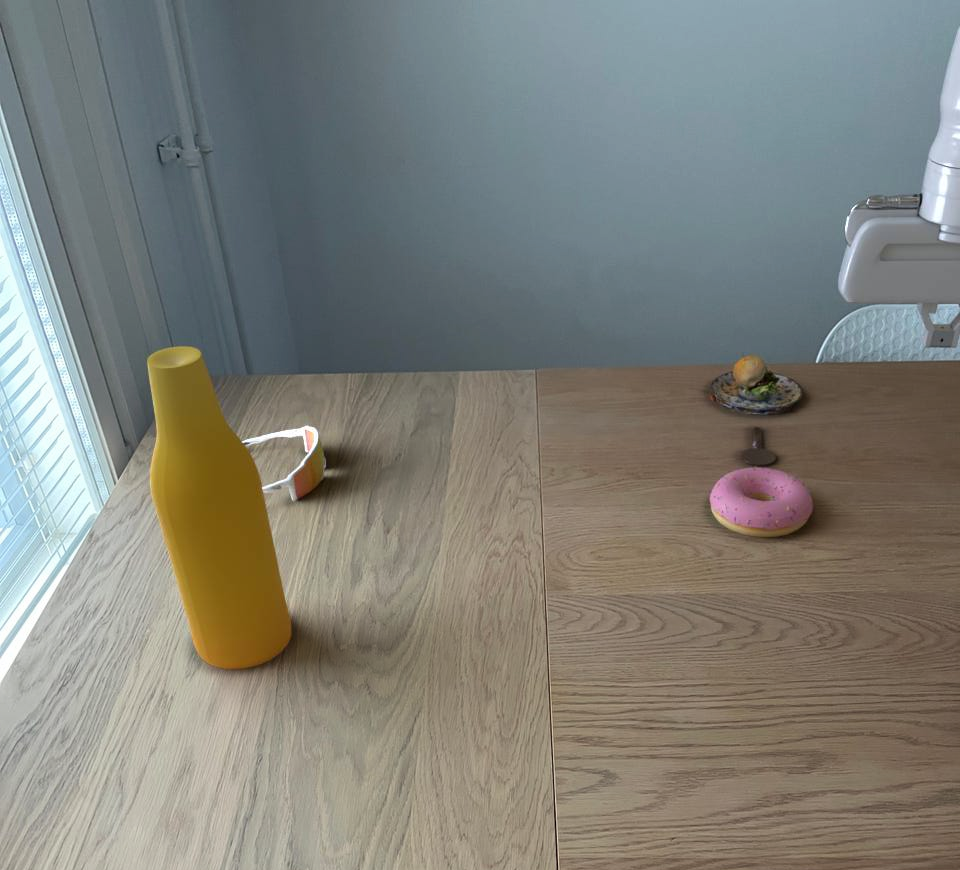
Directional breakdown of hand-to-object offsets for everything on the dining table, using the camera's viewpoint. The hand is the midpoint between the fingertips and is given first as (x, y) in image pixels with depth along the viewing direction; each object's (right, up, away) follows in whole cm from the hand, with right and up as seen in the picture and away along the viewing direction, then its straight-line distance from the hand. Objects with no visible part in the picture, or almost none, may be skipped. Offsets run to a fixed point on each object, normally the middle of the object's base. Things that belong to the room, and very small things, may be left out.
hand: (938, 345), depth 95 cm
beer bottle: (-67, -29, 0) cm, 73 cm away
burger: (-8, +3, +35) cm, 36 cm away
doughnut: (-14, -15, +14) cm, 24 cm away
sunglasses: (-70, -9, +24) cm, 75 cm away
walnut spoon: (-11, -6, +24) cm, 27 cm away
